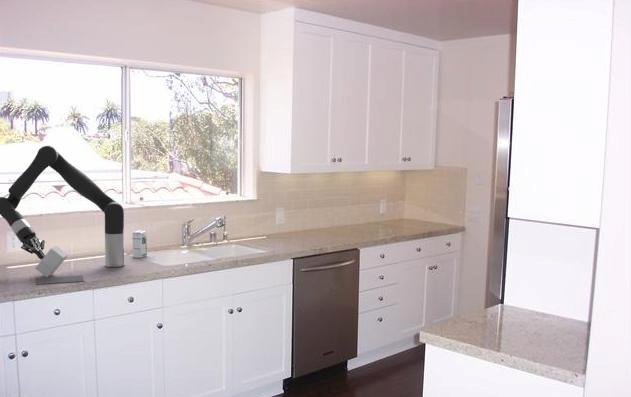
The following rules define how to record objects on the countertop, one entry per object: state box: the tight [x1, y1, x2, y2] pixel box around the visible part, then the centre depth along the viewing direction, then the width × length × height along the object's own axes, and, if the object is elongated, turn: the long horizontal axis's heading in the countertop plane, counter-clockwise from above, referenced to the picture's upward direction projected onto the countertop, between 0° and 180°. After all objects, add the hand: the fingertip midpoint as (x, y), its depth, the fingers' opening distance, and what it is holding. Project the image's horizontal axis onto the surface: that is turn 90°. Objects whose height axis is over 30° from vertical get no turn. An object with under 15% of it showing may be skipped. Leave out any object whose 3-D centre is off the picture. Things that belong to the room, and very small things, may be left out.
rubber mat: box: [35, 275, 84, 286], centre depth 273 cm, size 20×12×1 cm, turn 113°
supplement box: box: [34, 245, 69, 278], centre depth 280 cm, size 7×7×13 cm
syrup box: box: [131, 230, 148, 259], centre depth 331 cm, size 6×6×14 cm
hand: (43, 258), depth 279 cm, fingers closed
